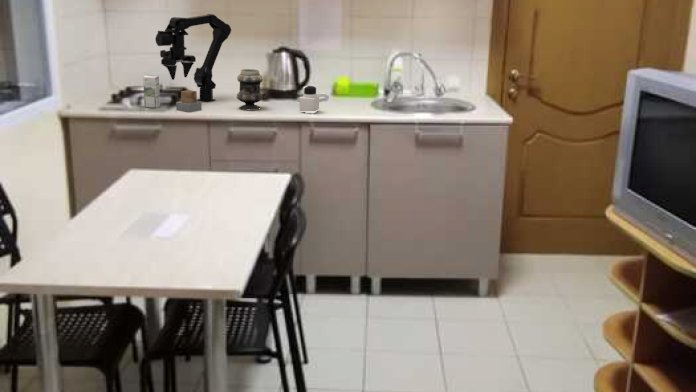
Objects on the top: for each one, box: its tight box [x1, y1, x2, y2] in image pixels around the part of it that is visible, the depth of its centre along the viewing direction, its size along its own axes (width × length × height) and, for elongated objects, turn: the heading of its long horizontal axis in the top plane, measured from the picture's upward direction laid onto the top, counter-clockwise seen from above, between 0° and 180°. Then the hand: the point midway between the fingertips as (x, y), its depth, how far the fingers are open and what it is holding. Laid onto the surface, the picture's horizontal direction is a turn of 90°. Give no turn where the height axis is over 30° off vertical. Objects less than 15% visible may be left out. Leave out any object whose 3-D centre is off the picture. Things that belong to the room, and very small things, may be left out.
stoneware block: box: [175, 100, 203, 113], centre depth 340 cm, size 8×8×4 cm
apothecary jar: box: [236, 68, 264, 110], centre depth 347 cm, size 12×12×18 cm
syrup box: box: [142, 74, 161, 109], centre depth 343 cm, size 6×6×14 cm
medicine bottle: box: [299, 85, 320, 111], centre depth 345 cm, size 7×7×12 cm
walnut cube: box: [180, 89, 198, 104], centre depth 339 cm, size 5×5×5 cm
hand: (179, 78), depth 351 cm, fingers open, 9 cm apart
